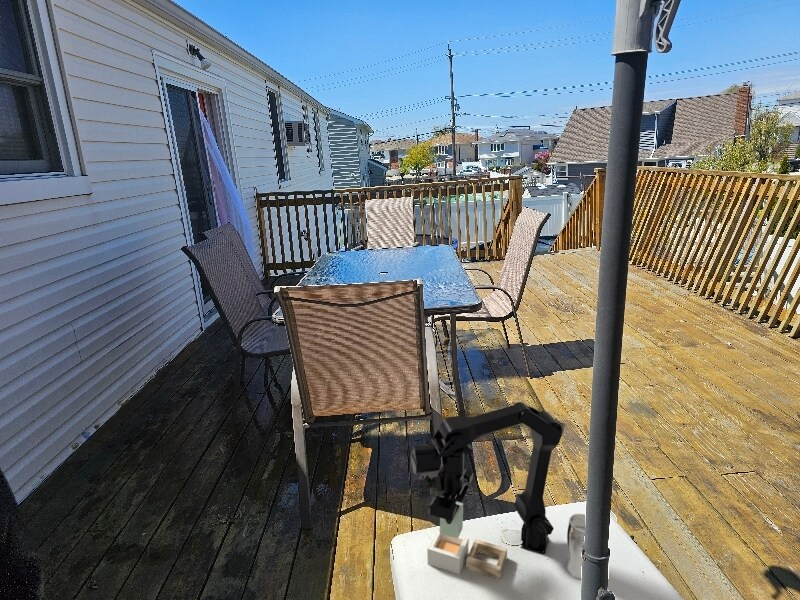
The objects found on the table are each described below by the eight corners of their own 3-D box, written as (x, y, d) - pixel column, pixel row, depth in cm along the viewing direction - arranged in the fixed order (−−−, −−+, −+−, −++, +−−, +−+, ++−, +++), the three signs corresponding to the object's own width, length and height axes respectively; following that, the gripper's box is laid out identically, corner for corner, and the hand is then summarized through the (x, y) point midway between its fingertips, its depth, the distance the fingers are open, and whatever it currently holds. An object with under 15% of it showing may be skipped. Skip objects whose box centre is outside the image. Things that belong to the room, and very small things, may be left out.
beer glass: (594, 582, 128) (599, 534, 123) (565, 578, 129) (569, 530, 125) (590, 561, 134) (595, 514, 130) (563, 558, 136) (566, 511, 131)
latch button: (461, 549, 137) (461, 546, 137) (455, 562, 133) (455, 559, 132) (441, 543, 139) (441, 540, 139) (435, 555, 135) (434, 552, 135)
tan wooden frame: (506, 557, 136) (507, 548, 135) (499, 579, 129) (500, 570, 129) (474, 547, 140) (475, 538, 139) (466, 568, 133) (466, 559, 132)
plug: (462, 528, 134) (463, 498, 132) (457, 538, 131) (458, 507, 128) (444, 523, 136) (445, 493, 134) (439, 533, 133) (440, 502, 130)
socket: (468, 552, 138) (468, 537, 137) (459, 574, 131) (459, 558, 130) (437, 543, 142) (437, 528, 140) (427, 563, 135) (427, 548, 134)
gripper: (435, 441, 139) (434, 489, 144) (408, 480, 123) (409, 532, 127) (474, 450, 135) (472, 499, 139) (452, 491, 119) (451, 546, 123)
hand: (451, 518), depth 132 cm, fingers closed on plug, 4 cm apart
